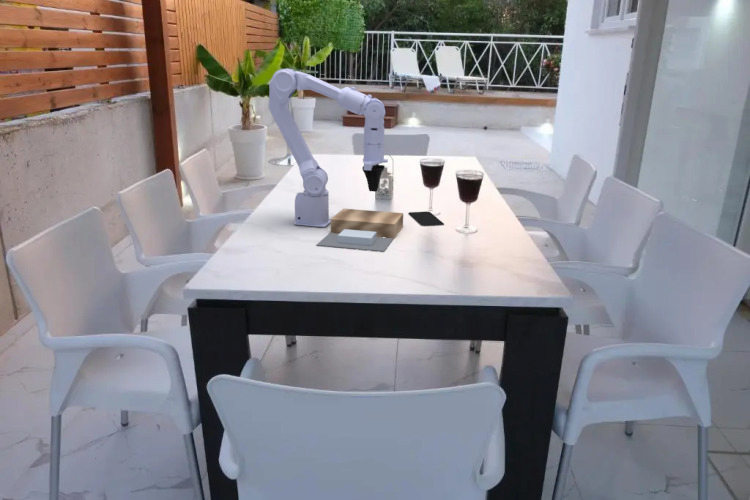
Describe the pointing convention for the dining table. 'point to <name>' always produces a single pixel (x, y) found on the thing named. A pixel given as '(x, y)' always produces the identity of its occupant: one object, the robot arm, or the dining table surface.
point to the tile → (357, 237)
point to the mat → (378, 245)
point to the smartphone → (425, 219)
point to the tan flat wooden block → (368, 222)
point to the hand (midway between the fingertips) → (373, 190)
